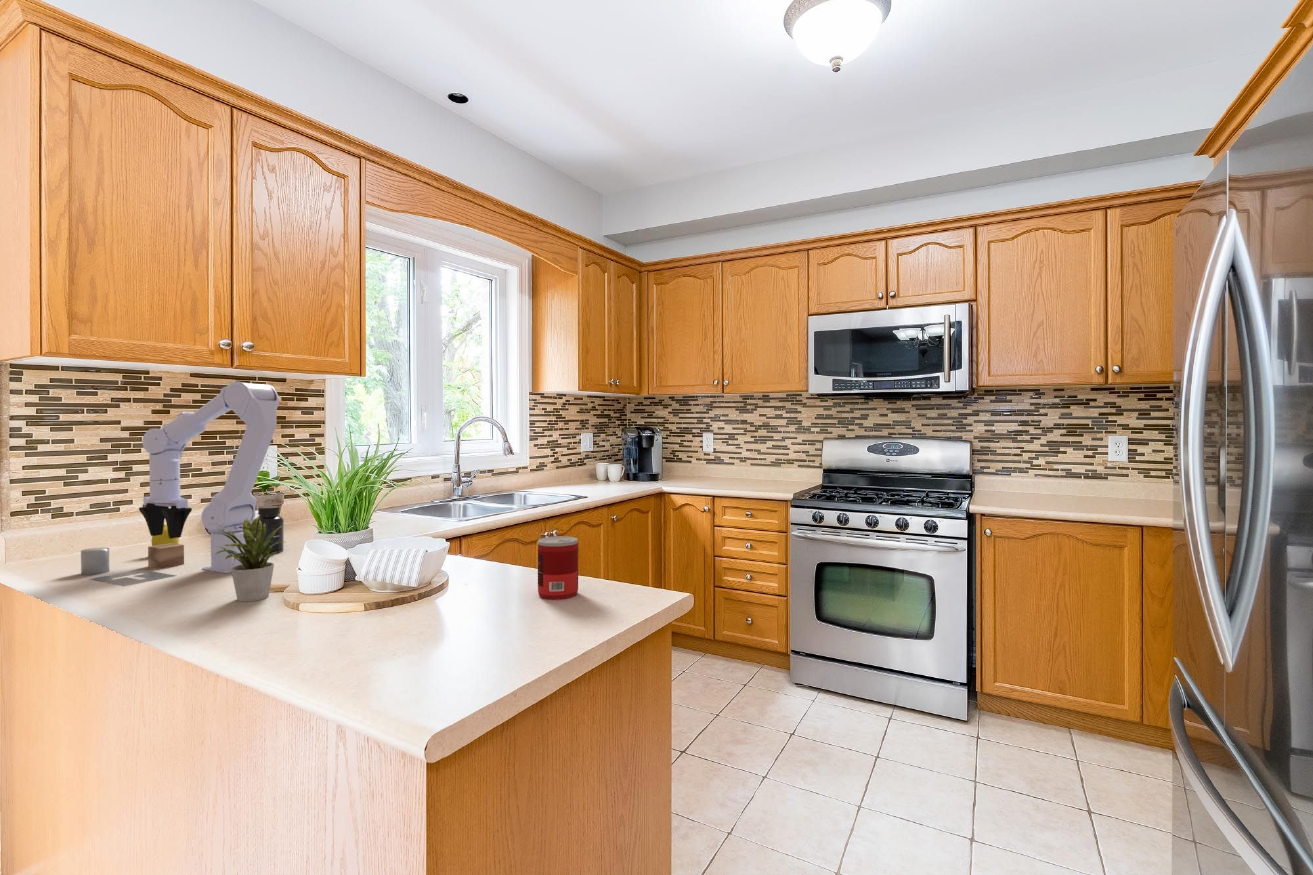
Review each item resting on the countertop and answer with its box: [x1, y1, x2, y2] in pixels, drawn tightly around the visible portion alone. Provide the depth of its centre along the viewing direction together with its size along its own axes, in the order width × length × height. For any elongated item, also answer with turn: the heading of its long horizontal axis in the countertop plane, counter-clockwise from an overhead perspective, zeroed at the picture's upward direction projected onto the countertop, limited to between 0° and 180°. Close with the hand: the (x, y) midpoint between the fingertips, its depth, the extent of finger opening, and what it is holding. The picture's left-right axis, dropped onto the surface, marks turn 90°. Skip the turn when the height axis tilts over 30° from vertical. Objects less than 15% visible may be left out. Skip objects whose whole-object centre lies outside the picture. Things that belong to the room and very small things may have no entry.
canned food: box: [537, 535, 579, 600], centre depth 124 cm, size 8×8×11 cm
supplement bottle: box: [255, 505, 285, 555], centre depth 166 cm, size 7×7×12 cm
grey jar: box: [80, 547, 110, 576], centre depth 142 cm, size 5×5×6 cm
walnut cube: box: [147, 543, 185, 569], centre depth 149 cm, size 5×5×5 cm
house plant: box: [211, 515, 287, 602], centre depth 122 cm, size 14×14×16 cm
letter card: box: [88, 569, 177, 587], centre depth 137 cm, size 14×10×1 cm
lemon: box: [151, 524, 180, 546], centre depth 161 cm, size 6×6×8 cm
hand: (165, 536), depth 149 cm, fingers open, 7 cm apart
